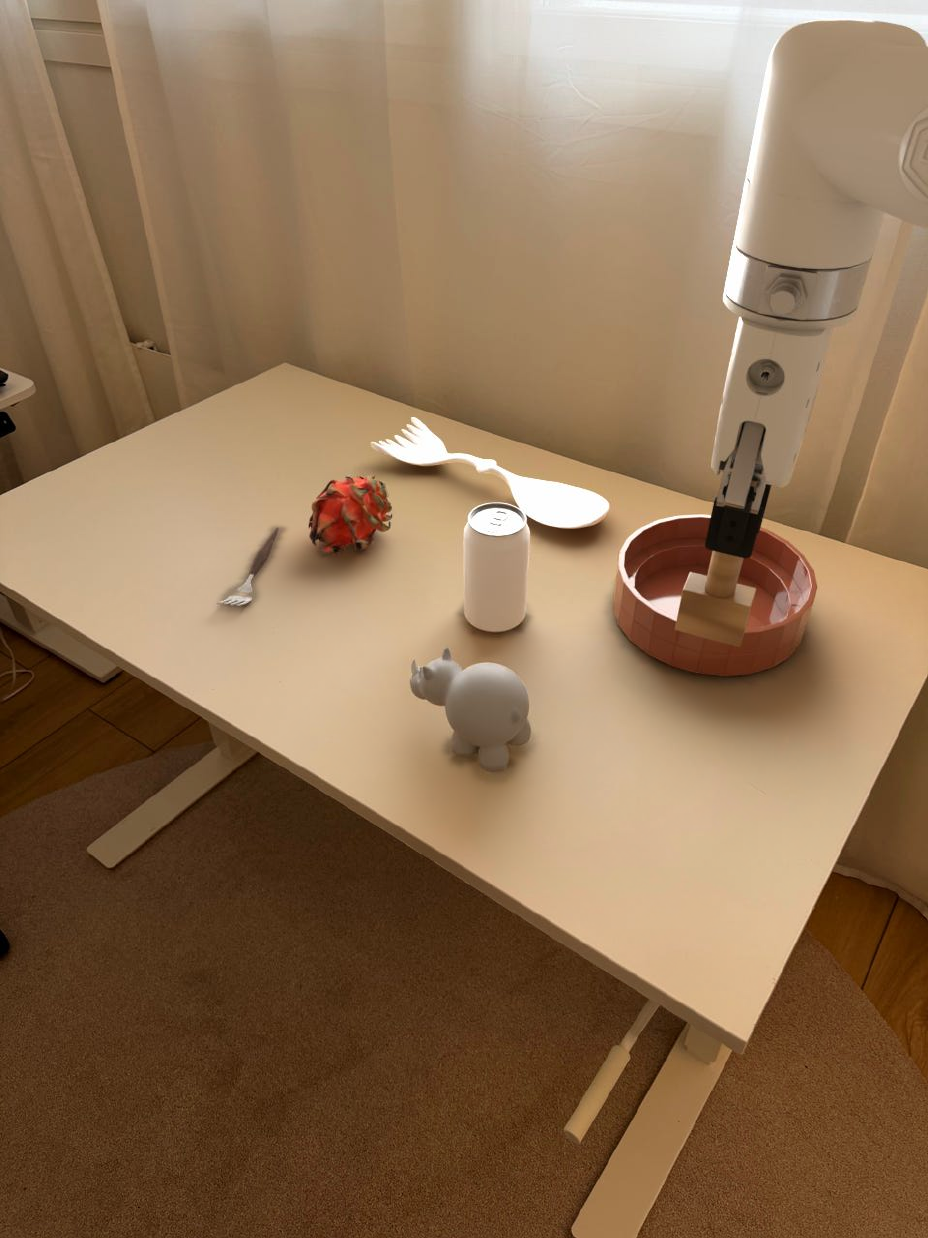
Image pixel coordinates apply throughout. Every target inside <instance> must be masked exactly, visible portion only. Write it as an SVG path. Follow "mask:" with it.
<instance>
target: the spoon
mask: <svg viewBox="0 0 928 1238" xmlns="http://www.w3.org/2000/svg"><path fill="white" fill-rule="evenodd" d="M410 422H411V423H412V424H413V425H414V426H413V425H411V424H408V423H406V425H405V426H406V427H407V429H408V430H406V429H403V428H401V432H402V434H403V435H404V436H405V437H406V438H407V439H408V440H407V439H406V438H404V437H401V436H400V435H397V434H396V435H393V437H394V439H395V441H396V442H397V443H396V442H395V441H393V440H391V439H388V438H385V439H384V440H385V441H386V442H385V441H382V440H379V441H378V443H377V442H375V441H371V442H370V446H371V447H372V449H373V450H375V451H376V452H378V453H379V454H382V455H385V456H387V457H391V458H394V459H396V460H399V461H401V462H403V463H406V464H410V465H414V466H418V467H419V466H420V467H433V466H434V467H435V466H440V465H446V464H451V463H461V464H465V465H468V466H471V467H473V468H475V469H476V471H477V473H479V474H482V475H485V474H492V475H495V476H497V477H499V478H500V479H502V480H503V481H504V482H505V483H506V484H507V485H508V487H509V489H510V491H511V494H512V496H513V500H514V501H515V503H516V505H517V506H518V508H519V509H520V510H522V511H523V512H524V514H525V515H526V516H527V517H528V518H530V519H532V520H534V521H535V522H537V523H539V524H542V525H545V526H548V527H553V528H558V529H581V528H587V527H593V526H595V525H596V524H599V523H600V522H602V521H603V520H604V519H605V518H606V516H607V515H608V513H609V511H610V503H609V502H608V500H607V499H605V498H604V497H603V496H601V495H600V494H597V493H596V492H594V491H592V490H591V491H590V490H588V489H585V488H582V487H576V486H573V485H569V484H565V483H563V482H557V481H548V480H542V479H536V478H530V477H526V476H520V475H517V474H515V473H512V472H510V471H508V470H507V469H504V468H502V467H500V466H498V465H497V463H498V462H497V461H495V460H494V459H483V458H480V457H476V456H473V455H471V454H466V453H448V452H447V449H446V446H445V444H444V442H443V441H442V440H441V439H440V438H439V437H438V436H437V435H435V434H434V433H433V432H432V431H431V430H430V429H429V428H428V427H427V425H426V424H424V423H423V422H422V421H421V420H420V419H418V418H417V417H414V416H413V417H410ZM409 431H410V432H409Z"/></svg>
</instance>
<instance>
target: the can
mask: <svg viewBox="0 0 928 1238" xmlns="http://www.w3.org/2000/svg"><path fill="white" fill-rule="evenodd" d="M462 539H463V540H462V541H463V542H462V543H463V545H462V547H463V549H462V551H463V558H462V559H463V561H462V562H463V563H462V564H463V566H462V567H463V568H462V569H463V571H462V573H463V574H462V575H463V584H462V585H463V614H464V617H465V619H466V621H467V622H468V623H469V624H470V625H472V626H473V627H474V628H476V629H477V630H478V631H479V630H480V631H482V632H487V633H494V634H495V633H496V634H497V633H505V632H508V631H511V630H513V629H514V628H516V627H518V626H519V625H520V624H521V623H522V622H523V621H524V619H525V617H526V612H527V599H528V584H529V563H530V549H531V548H530V547H531V546H530V545H531V544H530V543H531V531H530V527H529V526H528V523H527V515H526V514H525V513H524V512H523V511H522V510H521V509H520V507H517V506H515V505H513V504H510V503H505V502H488V503H483V504H480V505H477V506H476V507H474V508H472V509H471V511H469V513H468V515H467V522H466V524H465V526H464V529H463V537H462Z"/></svg>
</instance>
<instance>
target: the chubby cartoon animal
mask: <svg viewBox="0 0 928 1238" xmlns="http://www.w3.org/2000/svg"><path fill="white" fill-rule="evenodd" d="M410 672H411V678H410V679H409V687H410V691H411V693H412V694H413V695H414V696H415V697H416V698H418V699H420V700H424V701H427V702H429V703H430V704H432V705H433V706H437V707H444V711H445V712H444V713H445V716H446V719H447V723H448V724H449V725H450V727H451V729H452V730H453V732H452V733H451V738H450V746H451V750H452V751H453V753H454V754H456V755H457V756H459V757H464V758H465V757H466V758H467V757H472V756H475V755H476V754H477V753H478V762H479V763H478V764H479V765H480V767H481V769H482V770H483V771H484V772H487V773H499V772H502V771H503V770H505V769H506V768H507V766H508V764H509V758H510V757H509V751H508V748H507V745H506V744H508V745H510V746H512V747H513V746H514V747H516V746H517V747H519V746H522V745H524V744H526V743H528V742H529V740H530V738H531V735H532V728H531V727H532V726H531V723H530V720H529V718H528V716H529V713H530V697H529V694H528V690H527V688H526V686H525V684H524V682H523V681H522V679H521V677H519V675H517V673H515V672H514V671H513V670H511V669H510V668H508V667H506V666H504V665H502V664H499V663H495V662H479V663H475V664H471V665H469V666H468V667H466V668H465V669H463V668H462V667H461V666H460V664H458V663H457V662H456V661H454V660H453V659H452V654H451V649H450V647H448V646H446V647H445V648H444V649H443V652H442V655H441V656H440V657H439V658H435V659H433V660H432V661H430V662H429V663H428V664H426V665H423V666H421V665H420V666H419V665H418V663H417V662H416V659H415V658H413V659H412V661H411V663H410Z"/></svg>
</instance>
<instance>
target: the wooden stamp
mask: <svg viewBox="0 0 928 1238" xmlns="http://www.w3.org/2000/svg"><path fill="white" fill-rule="evenodd" d="M756 485H757V481H753V480H751V484H750V486H752V487H755V488H754V489H756ZM742 562H743V558H741V557H737V556H733V555H728V554H724V553H720V552H716V551H713V552H712V556H711V560H710V565H709V569H708V574H707V576H705V575H700V574H696V573H692V572H690V573H689V576H688V578H687V581H686V583H685V586H684V588H683V591H682V596H681V601H680V606H679V611H678V615H677V620H676V625H675V630H678V631H681V632H685V633H689V634H692V635H696V636H700V637H704V638H707V639H711V640H715V641H718V642H722V643H726V644H729V645H733V646H737V647H740V646H741V642H742V639H743V636H744V633H745V629H746V626H747V622H748V618H749V615H750V611H751V608H752V604H753V600H754V597H755V593H756V588H753V587H749V586H745V585H741V584H737V582H738V578H739V574H740V570H741V566H742Z"/></svg>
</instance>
